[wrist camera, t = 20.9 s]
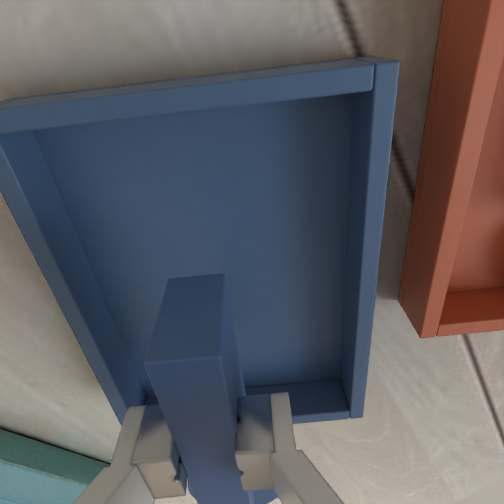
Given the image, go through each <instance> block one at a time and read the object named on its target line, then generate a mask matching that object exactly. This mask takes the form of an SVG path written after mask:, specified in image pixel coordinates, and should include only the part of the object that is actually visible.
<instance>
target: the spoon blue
mask: <svg viewBox="0 0 504 504" xmlns="http://www.w3.org/2000/svg"><path fill="white" fill-rule="evenodd" d="M144 366H145V369H146V371H147V374H148V376H149V379H150V381H151V384H152V387H153V389H154V392H155V394H156V397H157V399H158V402H159V405H160V407H161V410H162V412H163V415H164V417H165V420H166V423H167V425H168V428H169V430H170V433H171V436H172V438H173V440H174V442H175V445H176V447H177V450H178V452H179V456H180V459H181V461H182V463H183V465H184V468H185V470H186V473H187V476H188V489H189V492H190V493H191V495H192V496H193V497H194V498H195V499H196V500H197V503H198V504H266V503H269V502H271V501H273V500H274V499H276V498H277V497H278V496H277V494H276V493H275V491H274V489H263V490H245V491H243V487H242V483H241V479H240V470H239V469H238V467H237V462H236V458H235V435H236V433H237V424H238V423H239V422H238V417H237V398H238V397H241V396H246V393H245V388H244V382H243V376H242V370H241V364H240V359H239V353H238V347H237V341H236V335H235V329H234V324H233V318H232V312H231V306H230V300H229V295H228V289H227V283H226V277H225V274H224V273H218V274H208V275H198V276H188V277H178V278H170V279H168V281H167V285H166V288H165V292H164V295H163V299H162V302H161V306H160V309H159V313H158V316H157V320H156V323H155V327H154V330H153V333H152V337H151V340H150V344H149V347H148V351H147V354H146V358H145V361H144Z"/></svg>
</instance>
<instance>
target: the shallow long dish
mask: <svg viewBox="0 0 504 504" xmlns="http://www.w3.org/2000/svg"><path fill="white" fill-rule="evenodd" d="M104 467H110V465H109V464H106V463H103V462H100V461H97V460H94V459H91V458H88V457H85V456H82V455H79V454H76V453H73V452H69V451H66V450H63V449H60V448H57V447H54V446H51V445H48V444H45V443H42V442H39V441H36V440H33V439H30V438H27V437H23V436H20V435H17V434H14V433H11V432H8V431H5V430H2V429H0V504H73V503H74V502H75V501H76V499H77V498H78V497H79V496H80V495H81V494H82V493H83V491H84V490H85V489H86V488H87V487H88V486H89V485H90V483H91V482H92V481H93V480H94V479H95V478H96V477H97V475H98V474H99V473H100V472H101V471H102V470H103V468H104Z"/></svg>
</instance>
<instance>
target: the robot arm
mask: <svg viewBox="0 0 504 504" xmlns="http://www.w3.org/2000/svg"><path fill="white" fill-rule="evenodd" d="M270 398H271V399H270ZM237 417H238V422H239V423H238V424H237V433H236V435H235V458H236V462H237V467H238V469H239V470H240V479H241V483H242V487H243V491H245V490H263V489H274V491H275V493H276V494H277V496H278V497H279V499H280V501H281V502H282V504H344V503H343V502H342V500H341V499H340V498H339V497H338V495H337V494H336V493H335V491H334V490H333V489H332V488H331V486H330V485H329V484H328V483H327V481H326V480H325V479H324V478H323V476H322V475H321V474H320V472H319V471H318V470H317V469H316V467H315V466H314V465H313V464H312V462H311V461H310V460H309V459H308V457H307V456H306V455H305V454H304V452H303V451H302V450H296V445H295V437H294V430H293V423H292V416H291V408H290V401H289V395H288V392H283V393H274V394H270V393H268V394H259V395H250V396H241V397H238V398H237ZM187 478H188V476H187V473H186V470H185V468H184V465H183V463H182V461H181V459H180V456H179V452H178V450H177V447H176V445H175V442H174V440H173V438H172V436H171V433H170V430H169V428H168V425H167V423H166V420H165V417H164V415H163V412H162V410H161V407H160V405H159V404H158V405H143V406H133V407H129V409H128V410H127V412H126V414H125V418H124V421H123V424H122V428H121V431H120V434H119V438H118V441H117V444H116V448H115V451H114V454H113V458H112V461H111V464H110V467H104V468H103V470H102V471H101V472H100V473H99V474H98V475H97V477H96V478H95V479H94V480H93V481H92V482H91V483H90V485H89V486H88V487H87V488H86V489H85V490H84V491H83V493H82V494H81V495H80V496H79V497H78V498H77V499H76V501H75V502H74V503H73V504H154V502H155V500H154V499H160V498H169V497H177V496H185V494H186V486H187Z"/></svg>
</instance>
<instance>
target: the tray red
mask: <svg viewBox="0 0 504 504" xmlns="http://www.w3.org/2000/svg"><path fill="white" fill-rule="evenodd" d="M399 303H400V305H401V306H402V307H403V310H404V312H405V313H406V315H407V317H408V318H409V320H410V322H411V323H412V325H413V327H414V328H415V330H416V332H417V334H418V335H419V337H420V338H427V337H435V336H447V335H458V334H468V333H479V332H489V331H500V330H504V0H444V4H443V10H442V17H441V24H440V30H439V37H438V43H437V50H436V57H435V63H434V70H433V76H432V83H431V90H430V96H429V103H428V109H427V116H426V123H425V129H424V136H423V143H422V149H421V156H420V162H419V169H418V176H417V182H416V189H415V195H414V202H413V209H412V215H411V222H410V228H409V235H408V242H407V248H406V255H405V261H404V268H403V275H402V281H401V288H400V295H399Z"/></svg>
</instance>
